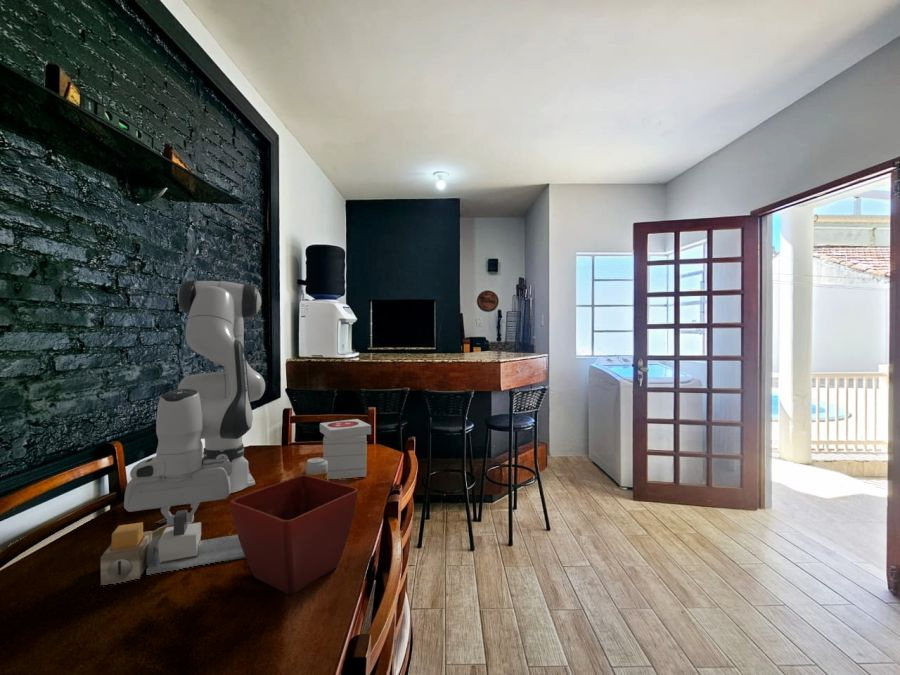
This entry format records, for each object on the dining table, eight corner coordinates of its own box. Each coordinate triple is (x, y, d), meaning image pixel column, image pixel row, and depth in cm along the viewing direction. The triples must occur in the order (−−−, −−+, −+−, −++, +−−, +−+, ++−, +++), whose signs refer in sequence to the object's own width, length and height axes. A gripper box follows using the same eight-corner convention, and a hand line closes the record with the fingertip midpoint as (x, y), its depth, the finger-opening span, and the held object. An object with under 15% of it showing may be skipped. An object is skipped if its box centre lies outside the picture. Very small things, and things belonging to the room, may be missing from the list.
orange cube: (119, 541, 92) (118, 525, 92) (143, 537, 94) (143, 522, 94) (111, 550, 88) (111, 534, 88) (137, 546, 90) (137, 530, 90)
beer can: (321, 516, 118) (321, 463, 118) (301, 515, 119) (301, 462, 119) (331, 508, 124) (331, 457, 124) (313, 506, 125) (312, 456, 125)
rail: (156, 557, 97) (156, 533, 97) (274, 537, 106) (273, 515, 106) (146, 576, 89) (146, 550, 89) (274, 552, 99) (273, 528, 99)
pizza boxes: (371, 455, 179) (370, 413, 179) (371, 479, 149) (371, 428, 149) (324, 458, 175) (324, 415, 175) (315, 483, 146) (315, 431, 146)
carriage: (166, 549, 97) (166, 510, 97) (201, 543, 100) (200, 505, 100) (158, 564, 90) (158, 522, 90) (196, 557, 93) (195, 517, 93)
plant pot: (286, 612, 77) (286, 520, 77) (227, 580, 87) (227, 500, 87) (360, 564, 93) (360, 488, 93) (303, 542, 104) (303, 474, 104)
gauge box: (117, 562, 95) (117, 536, 95) (152, 556, 97) (152, 530, 97) (99, 588, 85) (99, 558, 85) (138, 581, 87) (138, 552, 87)
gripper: (233, 453, 102) (233, 510, 102) (130, 463, 94) (131, 525, 94) (230, 460, 96) (230, 520, 96) (121, 472, 88) (121, 537, 88)
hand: (180, 523), depth 95 cm, fingers closed on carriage, 2 cm apart
